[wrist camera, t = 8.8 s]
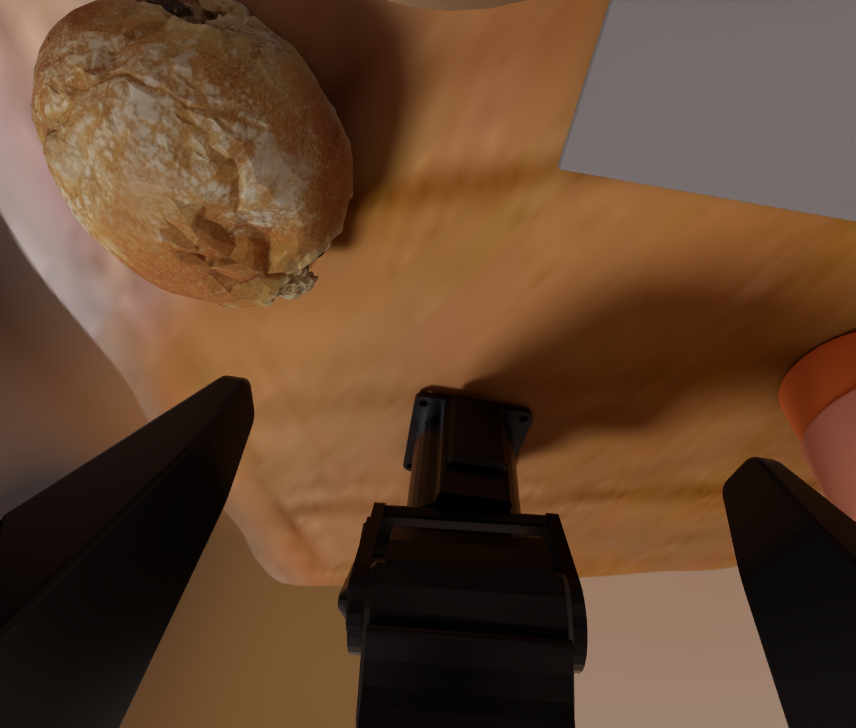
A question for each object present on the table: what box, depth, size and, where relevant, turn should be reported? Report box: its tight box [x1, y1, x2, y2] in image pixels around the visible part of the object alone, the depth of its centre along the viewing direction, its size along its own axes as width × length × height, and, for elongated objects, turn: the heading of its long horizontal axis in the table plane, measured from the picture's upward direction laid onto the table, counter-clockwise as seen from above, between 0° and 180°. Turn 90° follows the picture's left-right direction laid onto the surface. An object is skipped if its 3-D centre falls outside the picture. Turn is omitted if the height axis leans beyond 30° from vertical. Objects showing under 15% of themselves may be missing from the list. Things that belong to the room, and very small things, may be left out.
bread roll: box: [31, 0, 354, 309], centre depth 16 cm, size 10×10×8 cm
